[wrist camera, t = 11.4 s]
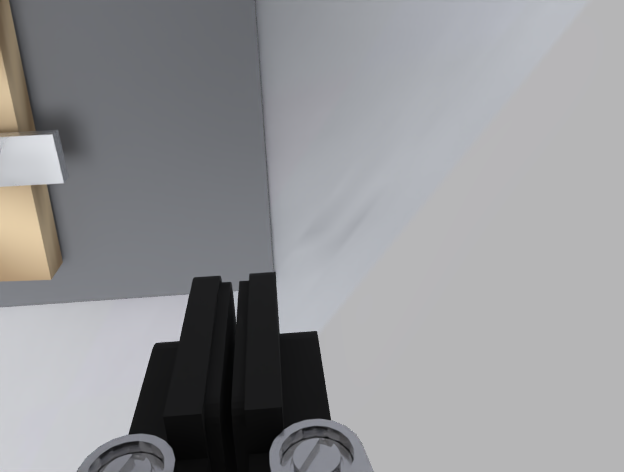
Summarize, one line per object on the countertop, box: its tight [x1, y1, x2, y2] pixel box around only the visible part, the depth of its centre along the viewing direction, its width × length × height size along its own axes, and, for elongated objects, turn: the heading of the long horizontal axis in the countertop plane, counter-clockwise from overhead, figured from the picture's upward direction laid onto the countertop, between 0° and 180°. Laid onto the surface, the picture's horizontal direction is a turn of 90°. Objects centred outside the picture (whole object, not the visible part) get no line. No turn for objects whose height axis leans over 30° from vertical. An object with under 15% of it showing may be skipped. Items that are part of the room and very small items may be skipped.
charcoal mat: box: [0, 0, 274, 307], centre depth 30 cm, size 20×18×1 cm
